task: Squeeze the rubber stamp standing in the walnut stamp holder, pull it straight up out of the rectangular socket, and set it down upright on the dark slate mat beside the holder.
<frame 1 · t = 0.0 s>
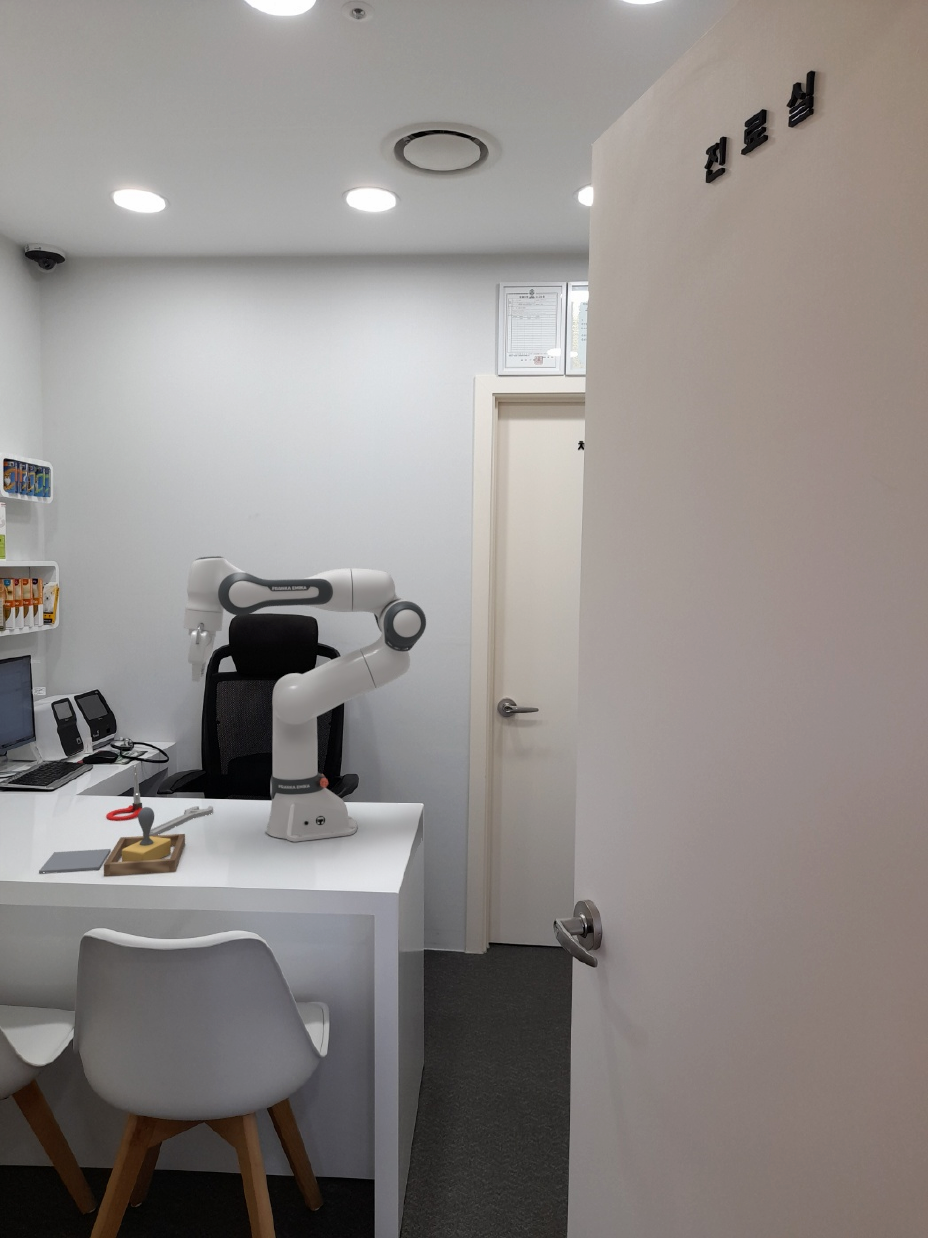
hand: (197, 678, 200), 39 cm above the table, tool pointing down, fingers open, 8 cm apart
stamp holder: (146, 859, 185), on the table
slate mat: (76, 862, 183), on the table
tow hook: (125, 816, 218), on the table
adjustable wrench: (176, 825, 212), on the table
rubber stamp: (146, 860, 185), resting in stamp holder
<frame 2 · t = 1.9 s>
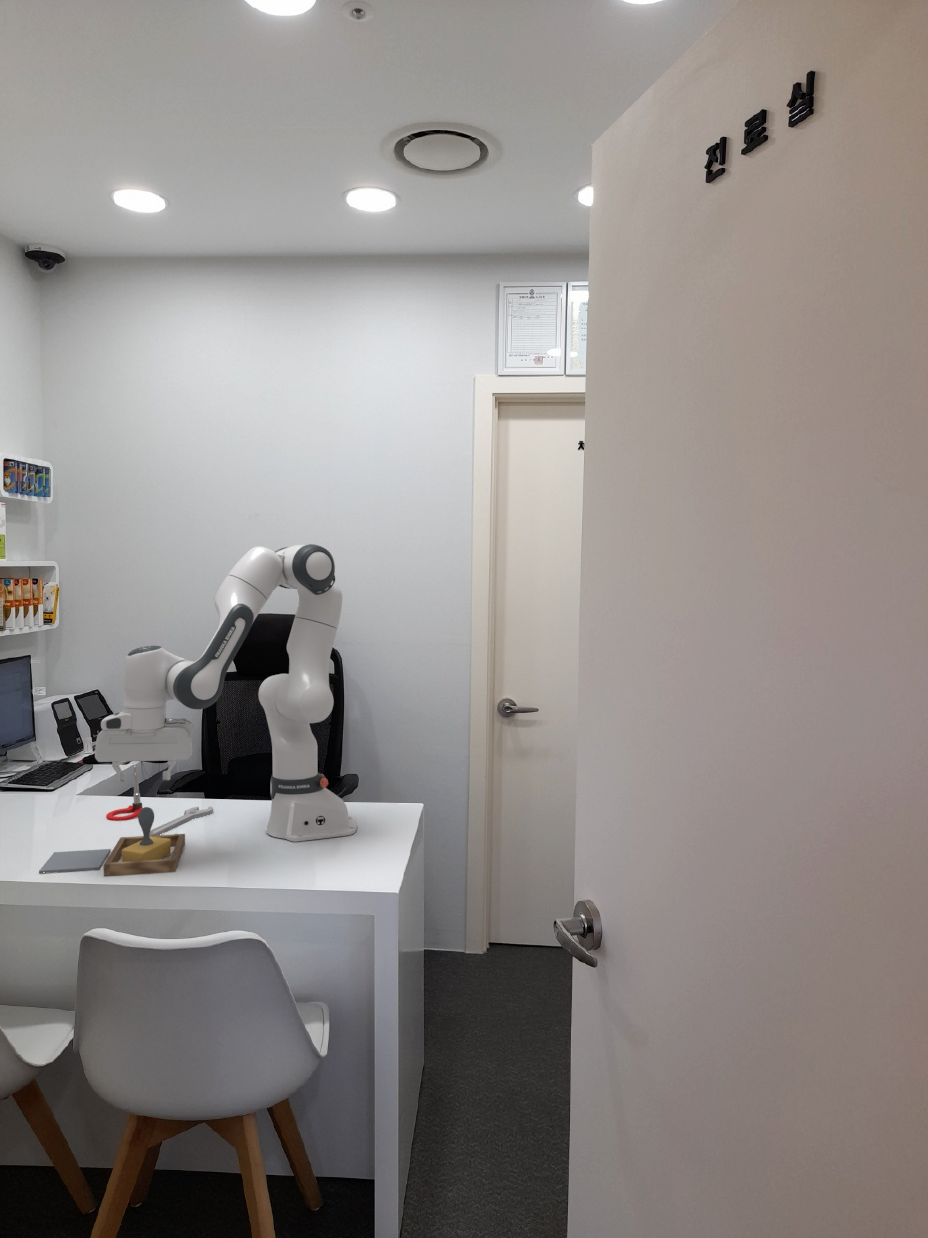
hand: (144, 780, 184), 18 cm above the table, tool pointing down, fingers open, 8 cm apart
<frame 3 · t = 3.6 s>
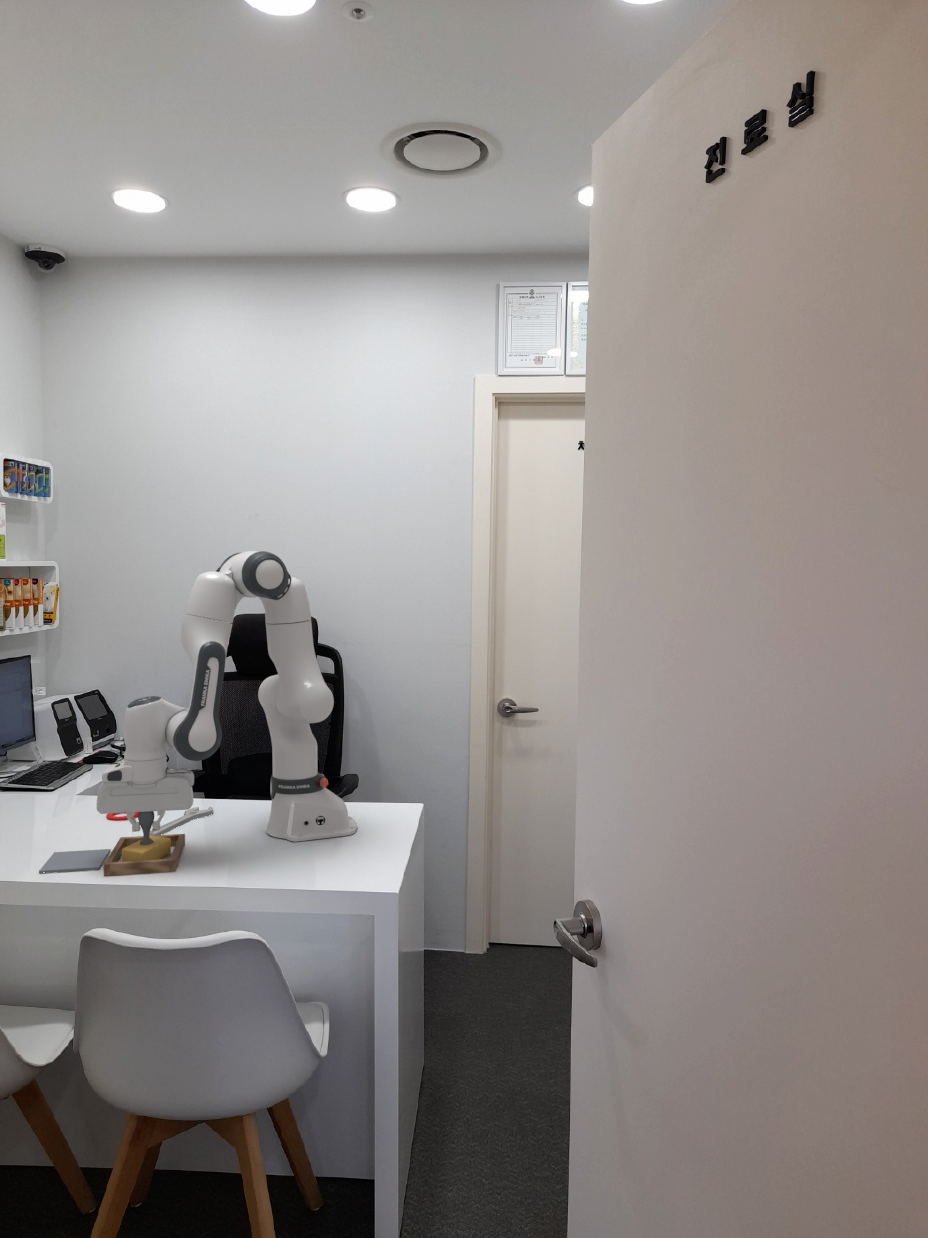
hand: (146, 830, 185), 7 cm above the table, tool pointing down, fingers closed on rubber stamp, 3 cm apart
rubber stamp: (146, 860, 185), resting in stamp holder, touching gripper
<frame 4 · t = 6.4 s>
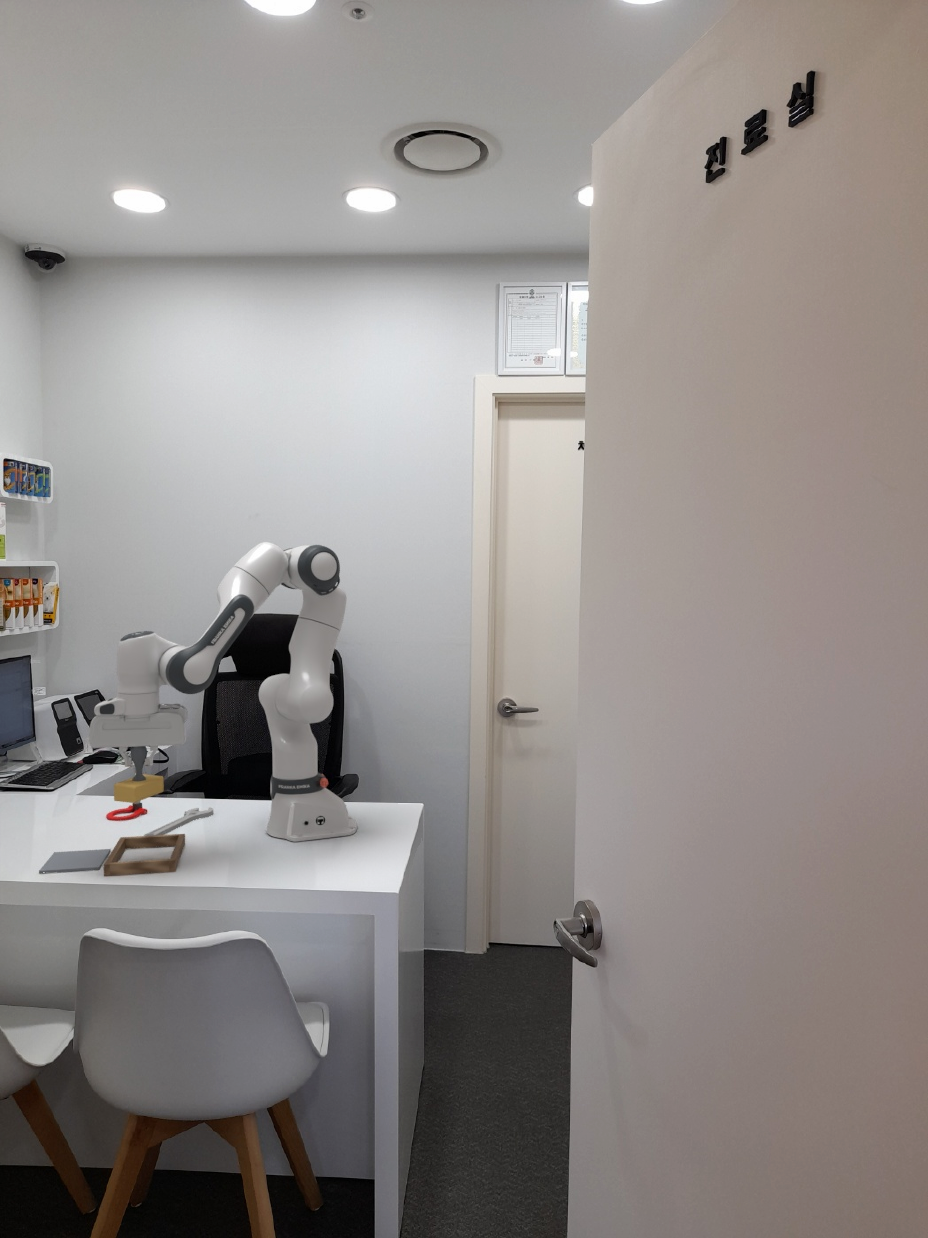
hand: (138, 765, 184), 21 cm above the table, tool pointing down, fingers closed on rubber stamp, 3 cm apart
rubber stamp: (139, 797, 184), point 14 cm above the table, touching gripper
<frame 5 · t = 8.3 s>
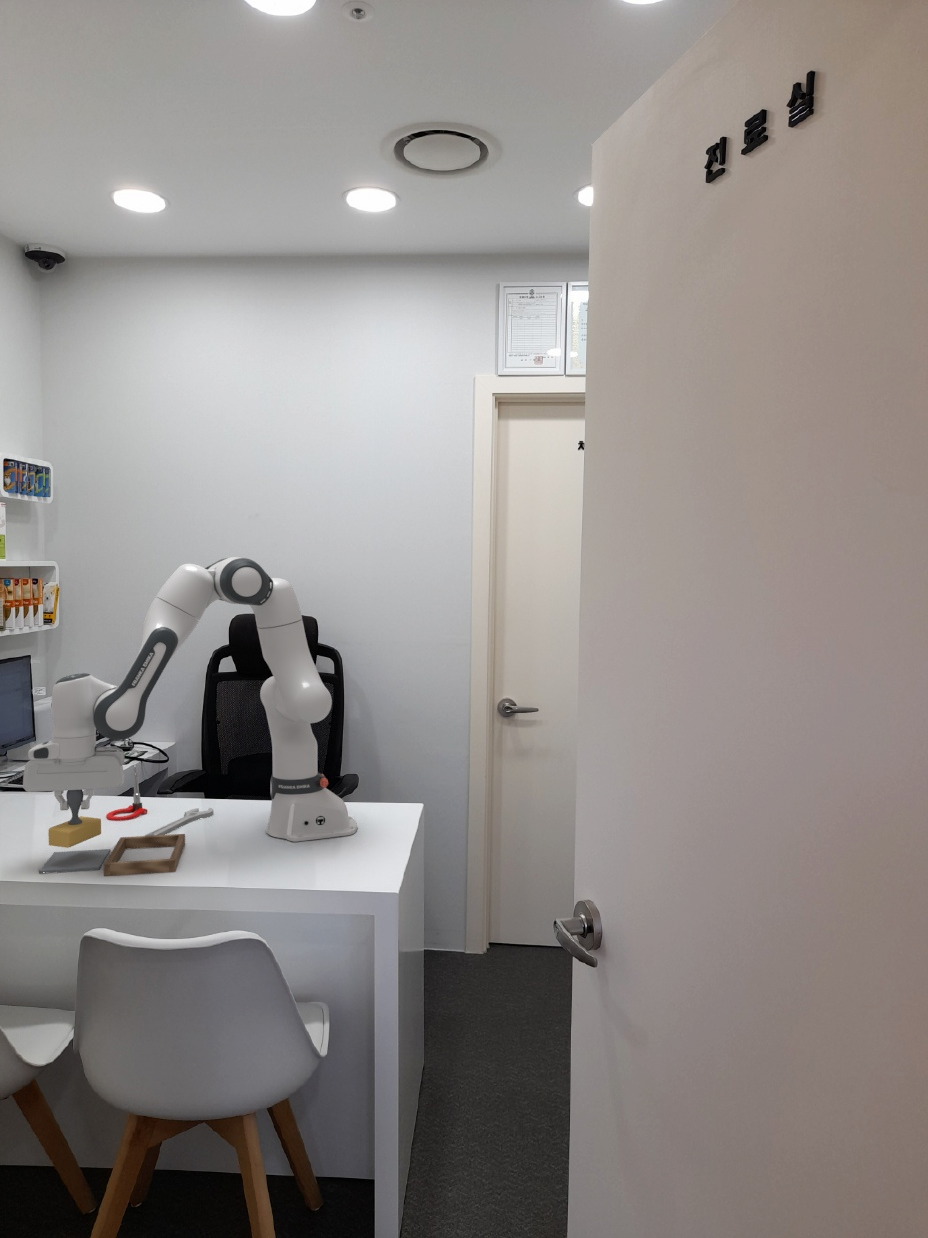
hand: (75, 809, 182), 12 cm above the table, tool pointing down, fingers closed on rubber stamp, 3 cm apart
rubber stamp: (75, 840, 183), point 5 cm above the table, touching gripper
when the fingers open (9 cm above the table, at t = 9.3 s): rubber stamp moves 3 cm, resting on slate mat.
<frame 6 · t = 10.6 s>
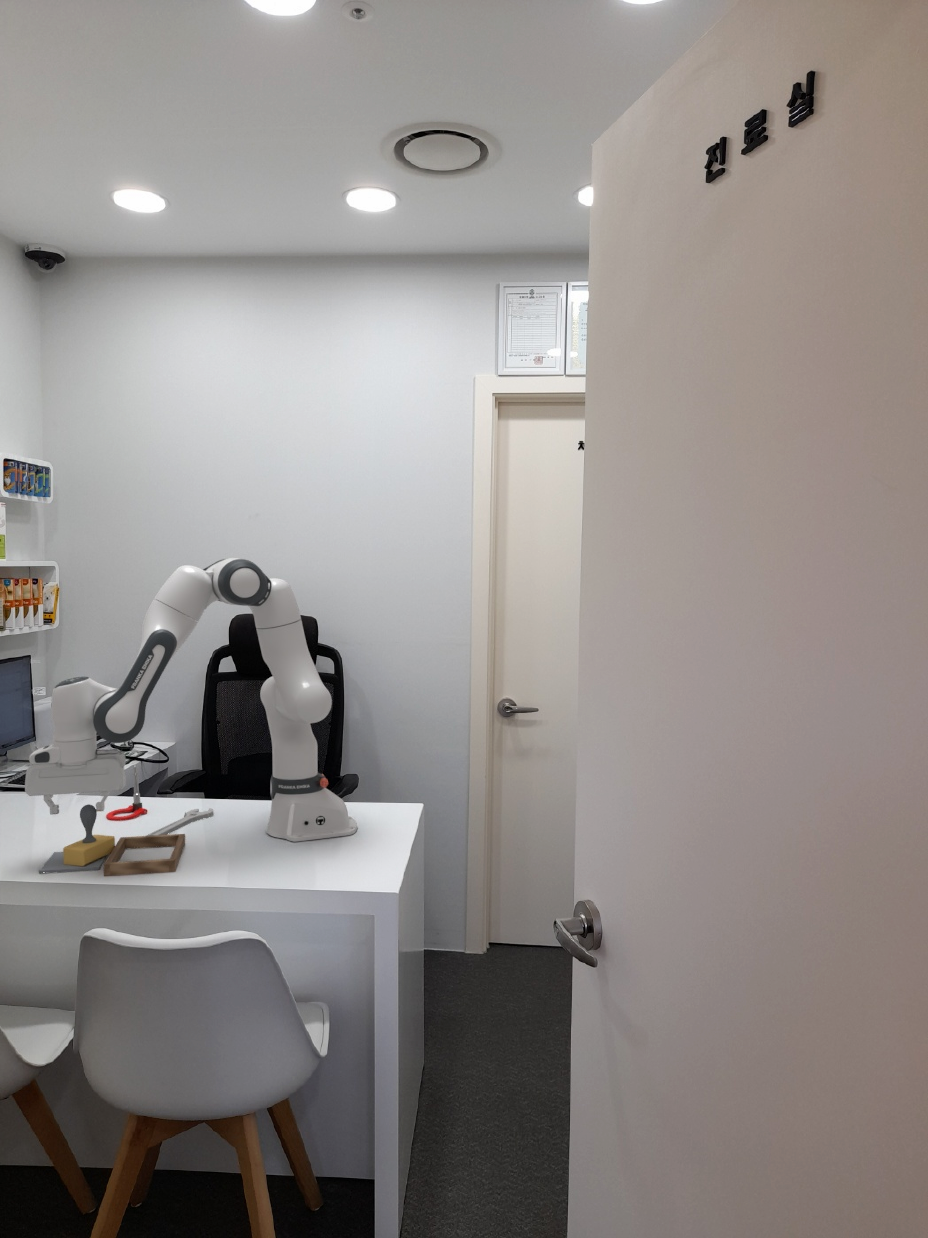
hand: (77, 812, 183), 11 cm above the table, tool pointing down, fingers open, 8 cm apart
rubber stamp: (90, 858, 184), resting on slate mat
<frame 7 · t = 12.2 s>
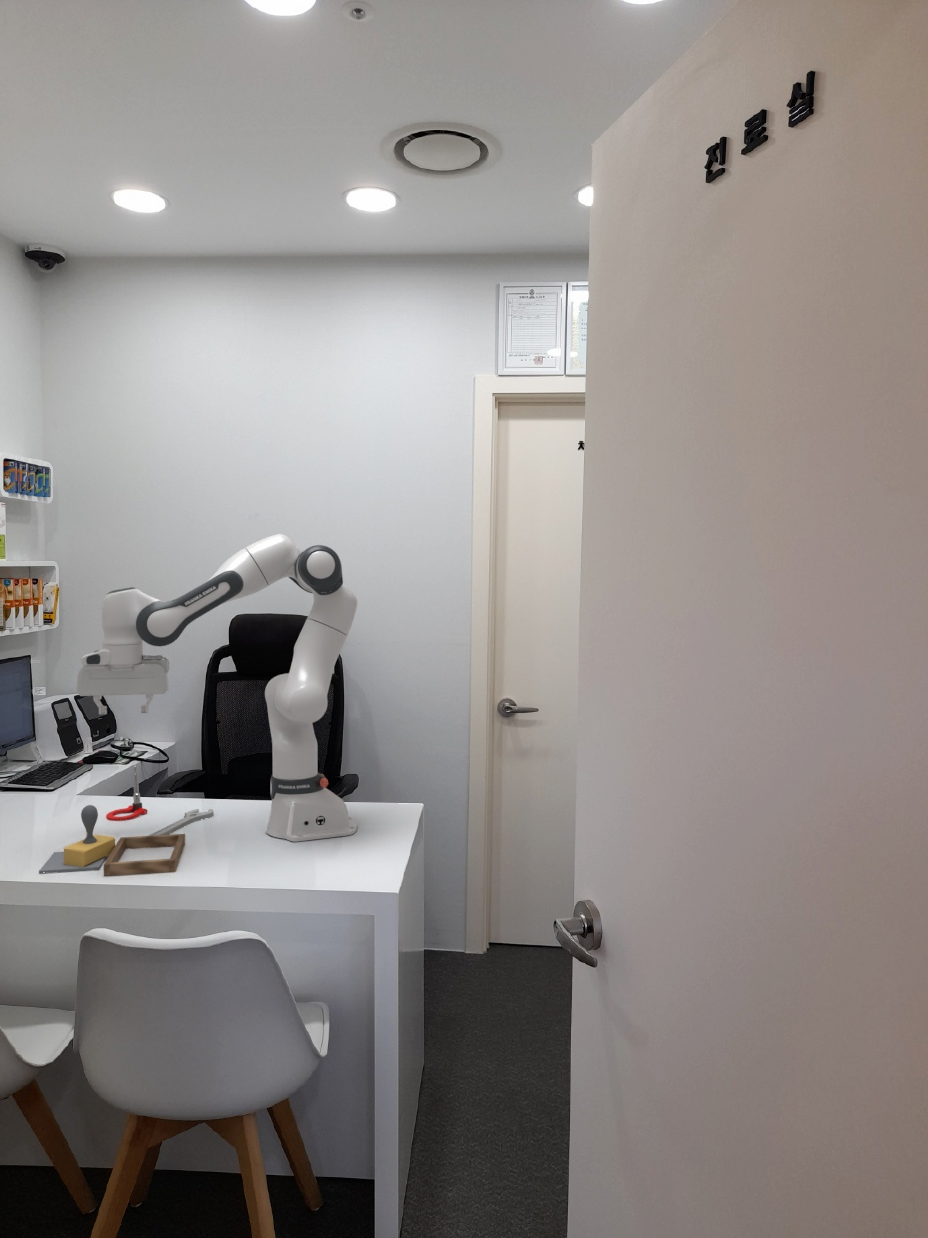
hand: (124, 713, 196), 31 cm above the table, tool pointing down, fingers open, 8 cm apart
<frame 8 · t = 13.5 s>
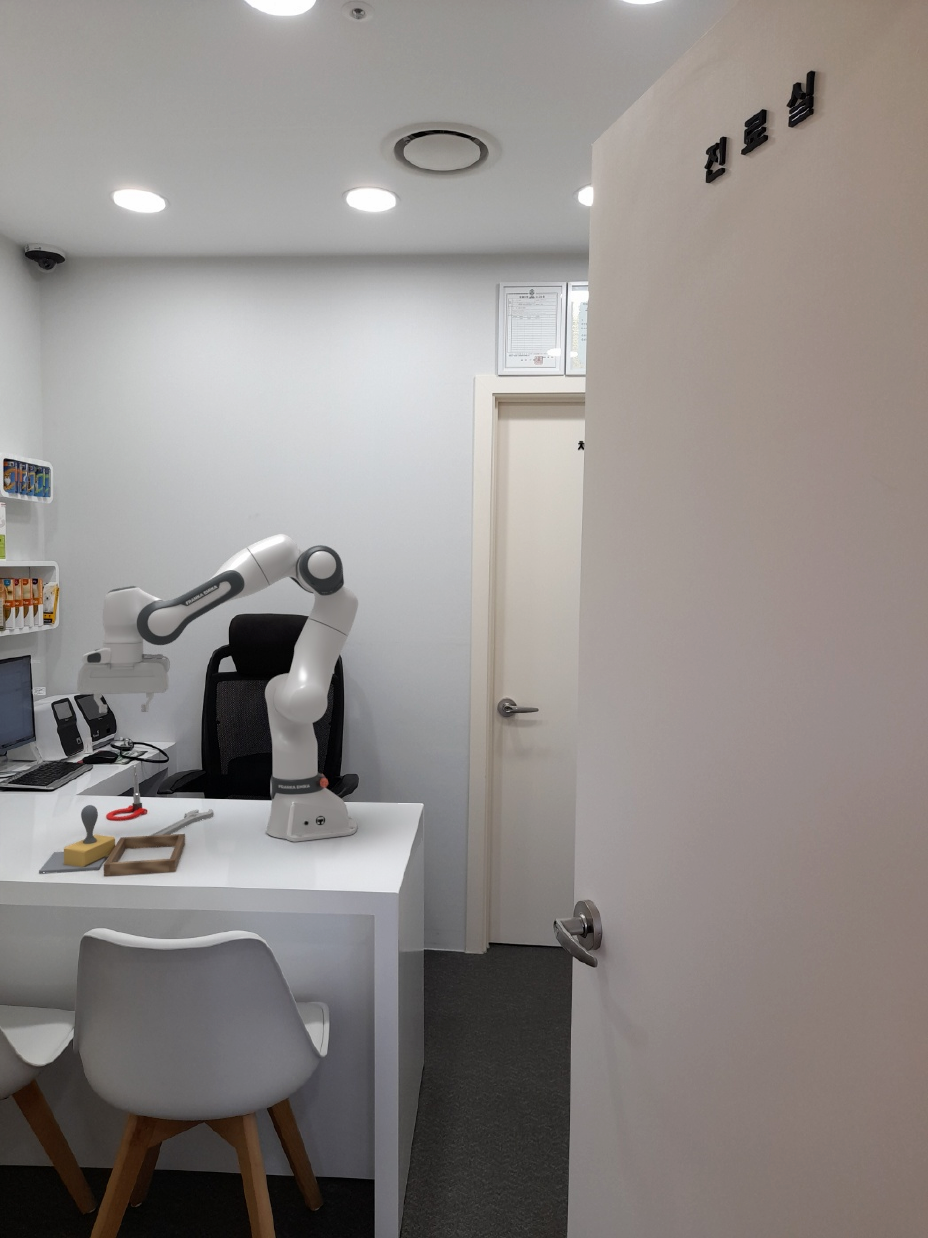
hand: (124, 712, 197), 31 cm above the table, tool pointing down, fingers open, 8 cm apart
at the end: rubber stamp inside the target area on the slate mat (2.9 cm from its centre), point 0.4 cm above the slate mat's base; rubber stamp tilted 0°; the gripper is holding nothing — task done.
